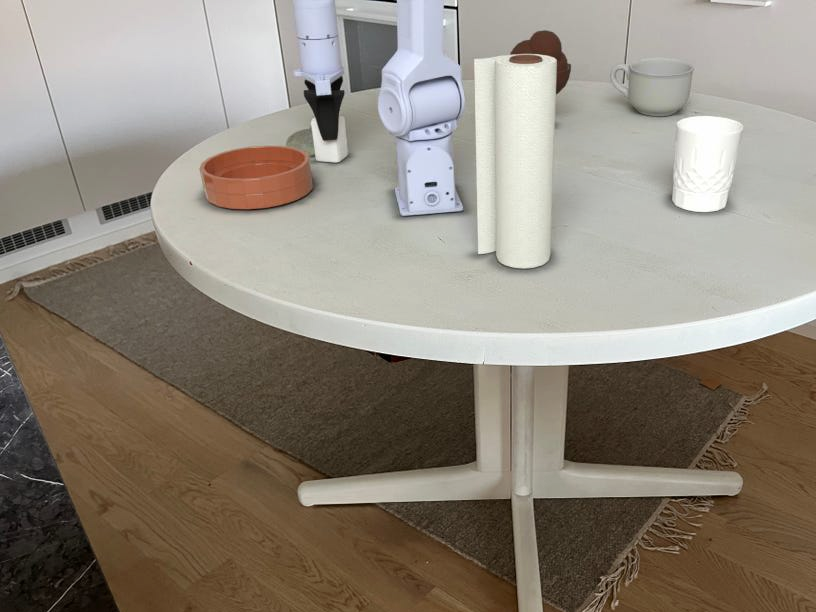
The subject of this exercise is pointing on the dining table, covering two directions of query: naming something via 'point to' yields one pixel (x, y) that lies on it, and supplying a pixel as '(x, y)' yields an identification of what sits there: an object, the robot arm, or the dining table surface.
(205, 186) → the clay bowl
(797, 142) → the dining table surface
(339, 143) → the pepper shaker
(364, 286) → the dining table surface
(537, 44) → the brown rounded tall piece
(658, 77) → the teacup
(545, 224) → the paper towel roll
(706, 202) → the white cup
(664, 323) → the dining table surface
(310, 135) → the soupspoon
